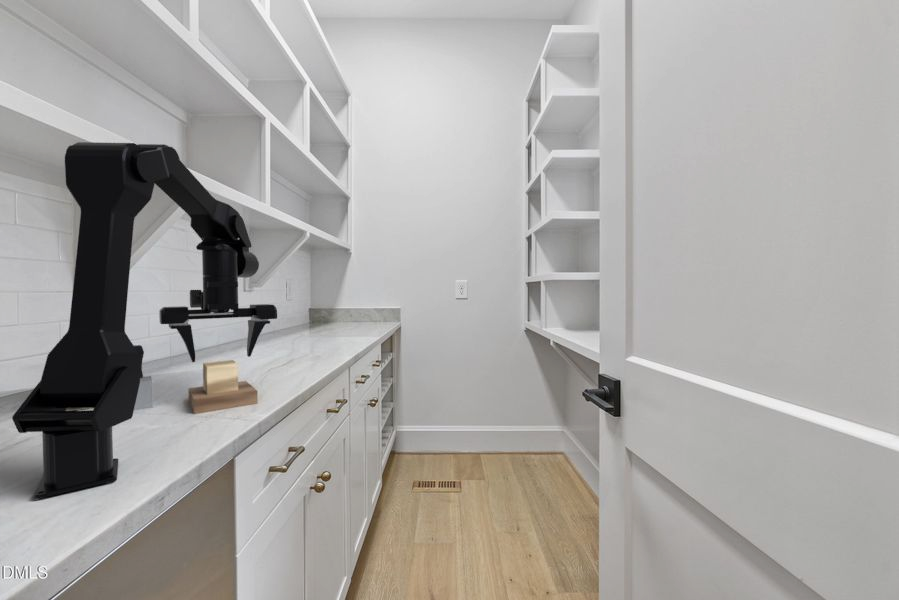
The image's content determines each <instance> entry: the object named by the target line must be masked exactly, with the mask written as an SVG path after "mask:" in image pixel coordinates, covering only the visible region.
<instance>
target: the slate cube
mask: <svg viewBox="0 0 899 600" xmlns="http://www.w3.org/2000/svg"><path fill="white" fill-rule="evenodd" d="M153 402H154V401H153V379H152V375H150V376H149V375H148V376H143V378H140V385H139V389H138V394H137V398H136V403H135V407H134V411H140V410H145V409H152V408H153V405H154V403H153Z"/></svg>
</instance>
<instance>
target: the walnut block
mask: <svg viewBox="0 0 899 600" xmlns="http://www.w3.org/2000/svg"><path fill="white" fill-rule="evenodd" d="M188 404H189V405H190V408H191V410H192V412H193V414H194V415H198V414H204V413H211V412H216V411H223V410H228V409H234V408H240V407H247V406H253V405H258V390H257V389H256V388H255V387H253V385H251V384H250V383H249V382H248V381H247V380H244V381H238V390H237V391H230V392H223V393H216V394H209V395H207V394H206V392H205V391H204V389H203V386H197V387H189V388H188Z"/></svg>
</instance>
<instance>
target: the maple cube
mask: <svg viewBox="0 0 899 600" xmlns="http://www.w3.org/2000/svg"><path fill="white" fill-rule="evenodd" d="M238 382H239V364H238V362H236V361H235V360H233V359H230V360H229V359H228V360H221V361H220V360H219V361H209V362H208V361H207V362H202V383H203V385H202V387H203V389H204V391H205V392H206V394H207V395H209V394H216V393H223V392H230V391H237V390H238Z"/></svg>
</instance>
